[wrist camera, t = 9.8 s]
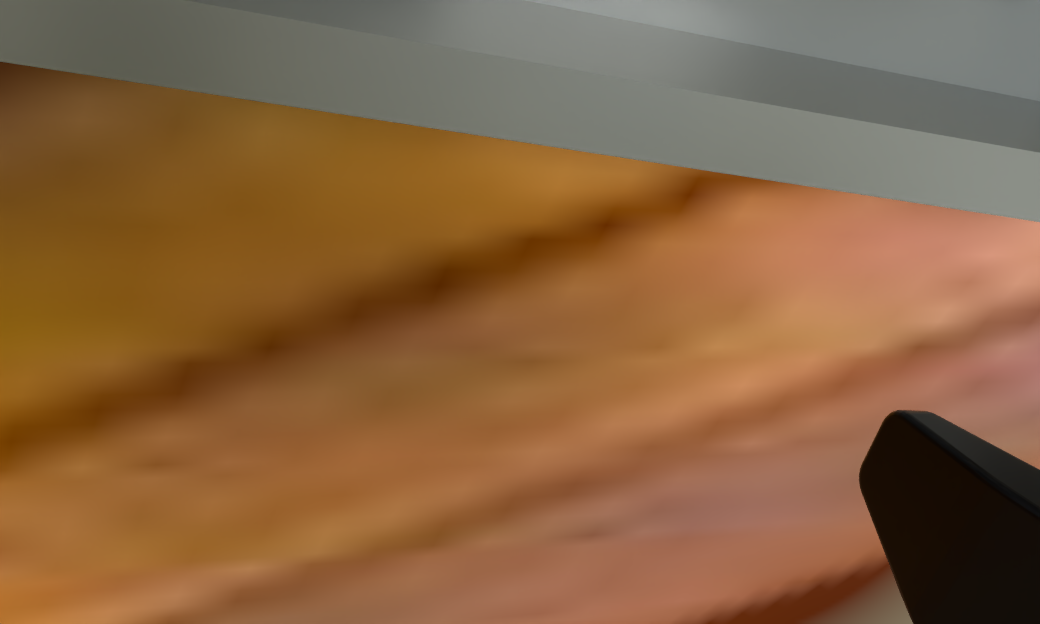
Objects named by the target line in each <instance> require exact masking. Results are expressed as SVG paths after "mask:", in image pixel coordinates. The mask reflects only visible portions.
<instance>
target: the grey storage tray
mask: <svg viewBox="0 0 1040 624" xmlns="http://www.w3.org/2000/svg"><path fill="white" fill-rule="evenodd" d="M0 62H6V63H13V64H19V65H26V66H32V67H39V68H45V69H52V70H58V71H65V72H71V73H78V74H84V75H91V76H97V77H104V78H110V79H117V80H123V81H129V82H136V83H142V84H149V85H155V86H162V87H168V88H175V89H181V90H188V91H194V92H201V93H207V94H214V95H220V96H227V97H233V98H240V99H246V100H253V101H259V102H265V103H272V104H278V105H285V106H291V107H298V108H304V109H311V110H317V111H324V112H330V113H337V114H343V115H350V116H356V117H363V118H369V119H376V120H382V121H389V122H395V123H402V124H408V125H414V126H421V127H427V128H434V129H440V130H447V131H453V132H460V133H466V134H473V135H479V136H486V137H492V138H499V139H505V140H512V141H518V142H525V143H531V144H538V145H544V146H551V147H557V148H563V149H570V150H576V151H583V152H589V153H596V154H602V155H609V156H615V157H622V158H628V159H635V160H641V161H648V162H654V163H661V164H667V165H674V166H680V167H687V168H693V169H700V170H706V171H712V172H719V173H725V174H732V175H738V176H745V177H751V178H758V179H764V180H771V181H777V182H784V183H790V184H797V185H803V186H810V187H816V188H823V189H829V190H836V191H842V192H848V193H855V194H861V195H868V196H874V197H881V198H887V199H894V200H900V201H907V202H913V203H920V204H926V205H933V206H939V207H946V208H952V209H959V210H965V211H972V212H978V213H985V214H991V215H997V216H1004V217H1010V218H1017V219H1023V220H1030V221H1036V222H1040V0H0Z"/></svg>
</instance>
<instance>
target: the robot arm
mask: <svg viewBox="0 0 1040 624" xmlns="http://www.w3.org/2000/svg"><path fill="white" fill-rule="evenodd" d="M859 483H860V489H861V492H862V495H863V497H864V500H865V502H866V505H867V508H868V510H869V513H870V515H871V518H872V521H873V523H874V526H875V528H876V531H877V534H878V536H879V539H880V542H881V544H882V547H883V549H884V552H885V555H886V557H887V560H888V562H889V565H890V567H891V570H892V572H893V575H894V578H895V580H896V583H897V586H898V588H899V591H900V593H901V596H902V598H903V601H904V603H905V606H906V608H907V610H908V613H909V615H910V618H911V620H912V622H913V624H1040V470H1039V469H1037V468H1035V467H1033V466H1032V465H1030V464H1028V463H1026V462H1024V461H1022V460H1020V459H1018V458H1017V457H1015V456H1013V455H1011V454H1009V453H1007V452H1005V451H1003V450H1002V449H1000V448H998V447H996V446H994V445H992V444H990V443H988V442H987V441H985V440H983V439H981V438H979V437H977V436H975V435H973V434H972V433H970V432H968V431H966V430H964V429H962V428H960V427H958V426H957V425H955V424H953V423H951V422H949V421H947V420H945V419H943V418H942V417H940V416H938V415H936V414H934V413H931V412H927V411H912V410H897V411H894V412H891V413H890V414H889V415H888V416H887V417H886V418H885V419H884V421H883V422H882V425H881V427H880V429H879V431H878V433H877V435H876V437H875V439H874V441H873V443H872V445H871V447H870V449H869V451H868V453H867V455H866V457H865V459H864V461H863V463H862V465H861V468H860V473H859Z"/></svg>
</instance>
